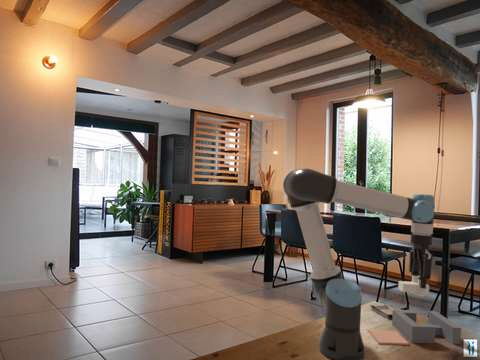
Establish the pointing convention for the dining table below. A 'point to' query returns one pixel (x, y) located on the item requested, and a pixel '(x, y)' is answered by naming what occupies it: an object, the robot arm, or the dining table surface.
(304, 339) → the dining table surface
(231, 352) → the dining table surface
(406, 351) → the dining table surface
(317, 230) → the robot arm
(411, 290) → the cream bar
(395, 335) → the terracotta mat
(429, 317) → the pocket plate
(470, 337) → the dining table surface
